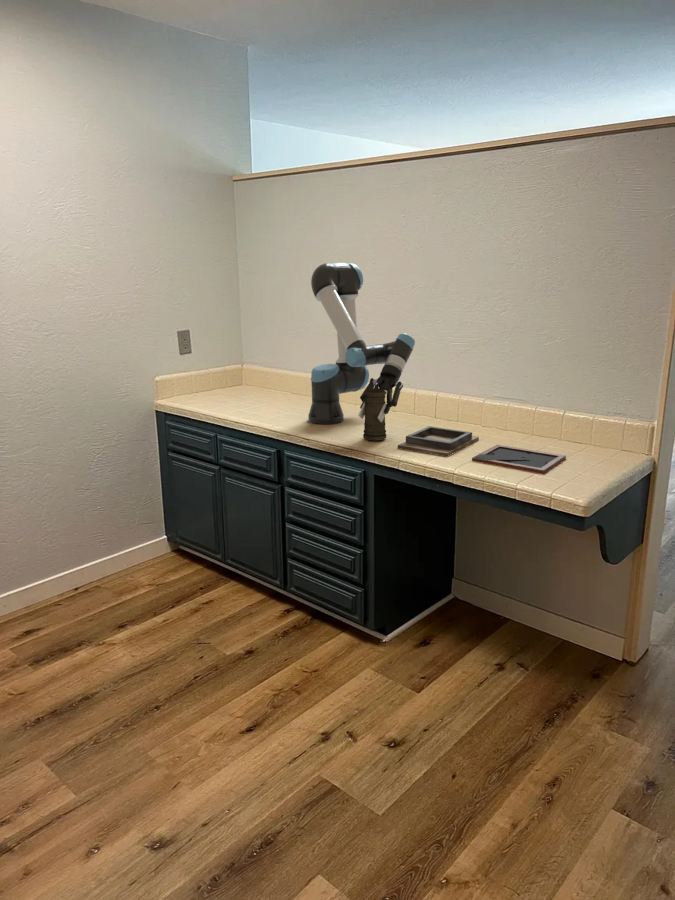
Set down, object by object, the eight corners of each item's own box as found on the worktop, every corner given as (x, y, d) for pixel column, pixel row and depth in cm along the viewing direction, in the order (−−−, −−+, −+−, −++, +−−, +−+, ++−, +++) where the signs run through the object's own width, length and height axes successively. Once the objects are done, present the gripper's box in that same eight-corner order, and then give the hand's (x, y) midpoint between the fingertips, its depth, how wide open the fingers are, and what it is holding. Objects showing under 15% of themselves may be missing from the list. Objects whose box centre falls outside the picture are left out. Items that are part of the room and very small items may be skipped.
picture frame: (471, 462, 229) (543, 475, 214) (471, 456, 228) (543, 469, 214) (497, 449, 244) (565, 460, 229) (497, 443, 244) (566, 454, 229)
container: (384, 441, 252) (385, 393, 247) (361, 440, 254) (361, 393, 249) (388, 434, 261) (388, 389, 255) (365, 433, 262) (365, 388, 257)
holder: (431, 432, 265) (431, 423, 264) (478, 439, 254) (479, 430, 253) (397, 448, 245) (397, 438, 244) (447, 456, 234) (447, 446, 233)
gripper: (419, 377, 257) (397, 427, 249) (373, 372, 269) (351, 420, 261) (413, 366, 252) (390, 416, 244) (366, 361, 263) (343, 409, 255)
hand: (370, 418), depth 252 cm, fingers closed on container, 8 cm apart
